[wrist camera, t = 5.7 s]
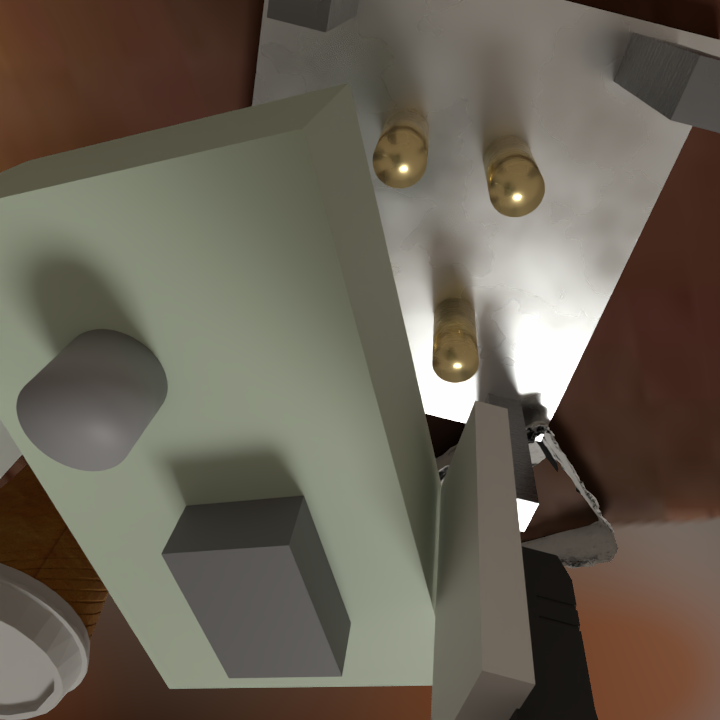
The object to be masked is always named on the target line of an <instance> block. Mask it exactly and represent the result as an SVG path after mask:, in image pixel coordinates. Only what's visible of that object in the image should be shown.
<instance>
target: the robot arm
mask: <svg viewBox="0 0 720 720" xmlns="http://www.w3.org/2000/svg"><path fill="white" fill-rule="evenodd" d="M21 455H22V453H21V451H20V450H19V448H18V446H17V445H16V443H15V442H14V440H13V439H12V437H11V435H10V434H9V432H8V431H7V429H6V427H5V426H4V424H3V423H2V421H1V419H0V478H1V477H2V476H3V475H4V474H5V473H6V472H7V471H8V469H9V468H10V467H11V466H12V465H13V464H14V463H15V462H16V461H17V460H18V458H19V457H20V456H21ZM579 628H580V624H579V618H578V612H577V610H576V601H575V595H574V590H573V584H572V580H571V578H570V576H569V574H568V573H567V571H566V570H565V568H564V566H563V564H562V563H561V561H560V559H559V557H558V556H557V555H554V554H550V553H546V552H542V551H538V550H535V549H531V548H527V547H523V546H521V537H520V527H519V517H518V507H517V498H516V488H515V478H514V468H513V458H512V448H511V438H510V428H509V418H508V409H506V408H502V407H499V406H495V405H491V404H487V403H483V402H479V401H476V400H475V401H474V404H473V407H472V409H471V412H470V414H469V417H468V419H467V422H466V424H465V427H464V430H463V432H462V435H461V437H460V440H459V442H458V445H457V447H456V450H455V452H454V455H453V458H452V460H451V463H450V465H449V468H448V470H447V473H446V475H445V478H444V481H443V483H442V486H441V499H440V523H439V546H438V569H437V592H436V615H435V638H434V661H433V684H432V707H431V708H432V709H431V720H598V718H597V715H596V711H595V707H594V702H593V696H592V691H591V685H590V679H589V674H588V668H587V662H586V657H585V652H584V646H583V641H582V635H581V632H580V631H579Z"/></svg>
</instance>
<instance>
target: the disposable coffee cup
mask: <svg viewBox="0 0 720 720" xmlns="http://www.w3.org/2000/svg"><path fill="white" fill-rule="evenodd" d="M107 594H108V590H107V588H106V587H105V585H104V584H103V582H102V580H101V579H100V577H99V576H98V574H97V572H96V571H95V569H94V568H93V566H92V564H91V563H90V561H89V560H88V558H87V557H86V555H85V553H84V552H83V550H82V549H81V547H80V545H79V544H78V542H77V541H76V539H75V537H74V536H73V534H72V533H71V531H70V529H69V528H68V526H67V525H66V523H65V521H64V520H63V518H62V517H61V515H60V513H59V512H58V510H57V509H56V507H55V505H54V504H53V502H52V501H51V499H50V498H49V496H48V494H47V493H46V491H45V490H44V488H43V486H42V485H41V483H40V482H39V480H38V478H37V477H36V475H35V474H34V472H33V470H32V469H31V467H30V466H29V464H28V465H27V466H26V467H24V468H23V469H22V470H21V471H20V472H19V473H18V474H17V475H16V476H14V477H13V478H12V479H11V480H10V481H9V482H8V483H7V484H5V485H4V486H3V487H2V488H1V489H0V719H5V720H19V719H28V718H31V717H35V716H38V715H42V714H45V713H47V712H49V711H50V710H51V709H52V708H54V707H55V706H56V705H57V704H58V703H59V702H60V700H61V699H62V698H63V697H64V695H65V694H66V693H68V692H69V691H71V690H73V689H74V688H75V687H77V686H78V685H79V684H80V683H81V681H82V679H83V678H84V676H85V674H86V672H87V669H88V662H89V652H90V651H89V649H90V639H91V636H92V633H93V632H94V629H95V626H96V622H97V621H98V618H99V616H100V613H101V610H102V608H103V606H104V603H105V600H106V597H107Z"/></svg>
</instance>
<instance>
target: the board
mask: <svg viewBox="0 0 720 720" xmlns="http://www.w3.org/2000/svg"><path fill="white" fill-rule="evenodd" d="M0 419H1V421H2V423H3V424H4V426H5V427H6V429H7V431H8V432H9V434H10V435H11V437H12V439H13V440H14V442H15V443H16V445H17V446H18V448H19V450H20V451H21V453H22V454H23V456H24V458H25V459H26V461H27V462H28V464H29V466H30V467H31V469H32V470H33V472H34V474H35V475H36V477H37V478H38V480H39V482H40V483H41V485H42V486H43V488H44V490H45V491H46V493H47V494H48V496H49V498H50V499H51V501H52V502H53V504H54V505H55V507H56V509H57V510H58V512H59V513H60V515H61V517H62V518H63V520H64V521H65V523H66V525H67V526H68V528H69V529H70V531H71V533H72V534H73V536H74V537H75V539H76V541H77V542H78V544H79V545H80V547H81V549H82V550H83V552H84V553H85V555H86V557H87V558H88V560H89V561H90V563H91V564H92V566H93V568H94V569H95V571H96V572H97V574H98V576H99V577H100V579H101V580H102V582H103V584H104V585H105V587H106V588H107V590H108V592H109V593H110V595H111V596H112V598H113V600H114V601H115V603H116V604H117V606H118V607H119V609H120V611H121V612H122V614H123V615H124V617H125V619H126V620H127V622H128V623H129V625H130V627H131V628H132V630H133V631H134V633H135V635H136V636H137V638H138V639H139V641H140V643H141V644H142V646H143V647H144V649H145V651H146V652H147V654H148V655H149V657H150V658H151V660H152V662H153V663H154V665H155V667H156V668H157V670H158V671H159V673H160V674H161V676H162V677H163V679H164V681H165V682H166V684H167V686H168V687H169V689H183V688H184V689H185V688H259V687H260V688H263V687H341V686H342V687H343V686H419V685H420V686H423V685H432V684H433V661H434V638H435V615H436V592H437V569H438V546H439V523H440V499H441V481H440V477H439V472H438V468H437V464H436V459H435V455H434V451H433V446H432V442H431V437H430V433H429V429H428V424H427V420H426V416H425V411H424V407H423V402H422V398H421V394H420V389H419V385H418V381H417V376H416V372H415V367H414V363H413V359H412V354H411V350H410V346H409V341H408V337H407V332H406V328H405V324H404V319H403V315H402V311H401V306H400V302H399V297H398V293H397V289H396V284H395V280H394V276H393V271H392V267H391V262H390V258H389V254H388V249H387V245H386V241H385V236H384V232H383V227H382V223H381V219H380V214H379V210H378V206H377V201H376V197H375V193H374V188H373V184H372V179H371V175H370V171H369V166H368V162H367V158H366V153H365V149H364V144H363V140H362V136H361V131H360V127H359V123H358V118H357V114H356V109H355V105H354V101H353V96H352V92H351V88H350V83H345V84H341V85H337V86H333V87H329V88H325V89H320V90H316V91H312V92H308V93H304V94H300V95H296V96H292V97H288V98H284V99H280V100H275V101H271V102H267V103H263V104H259V105H255V106H251V107H247V108H243V109H239V110H234V111H230V112H226V113H222V114H218V115H214V116H210V117H206V118H202V119H198V120H194V121H189V122H185V123H181V124H177V125H173V126H169V127H165V128H161V129H157V130H153V131H149V132H144V133H140V134H136V135H132V136H128V137H124V138H120V139H116V140H112V141H108V142H103V143H99V144H95V145H91V146H87V147H83V148H79V149H75V150H71V151H67V152H63V153H58V154H54V155H50V156H46V157H42V158H38V159H34V160H30V161H26V162H24V163H22V164H20V165H17V166H15V167H13V168H11V169H8V170H6V171H4V172H1V173H0Z"/></svg>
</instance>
